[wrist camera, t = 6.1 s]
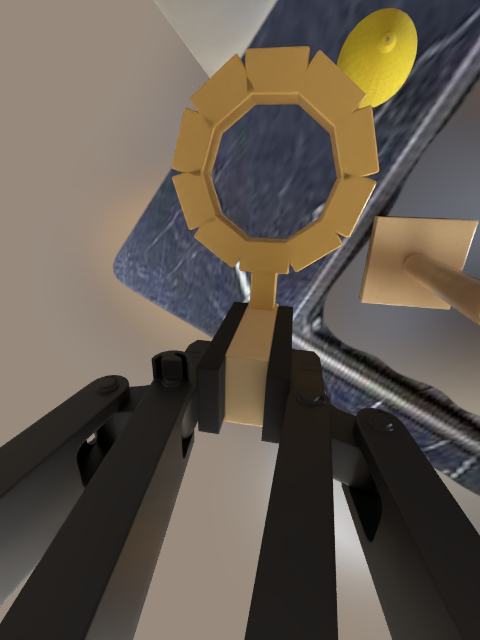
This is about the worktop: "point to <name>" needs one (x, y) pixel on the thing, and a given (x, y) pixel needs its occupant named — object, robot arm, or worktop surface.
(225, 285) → the worktop surface
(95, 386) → the robot arm
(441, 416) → the worktop surface
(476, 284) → the peg stand
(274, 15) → the worktop surface
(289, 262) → the hang ring
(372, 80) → the lemon
